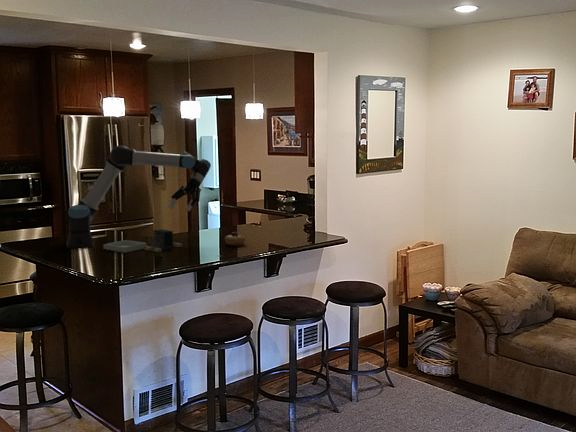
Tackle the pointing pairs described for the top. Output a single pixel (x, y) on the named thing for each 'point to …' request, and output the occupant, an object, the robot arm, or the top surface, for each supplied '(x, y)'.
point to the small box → (163, 239)
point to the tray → (125, 246)
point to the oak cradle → (160, 248)
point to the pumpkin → (234, 239)
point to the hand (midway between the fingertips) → (179, 209)
